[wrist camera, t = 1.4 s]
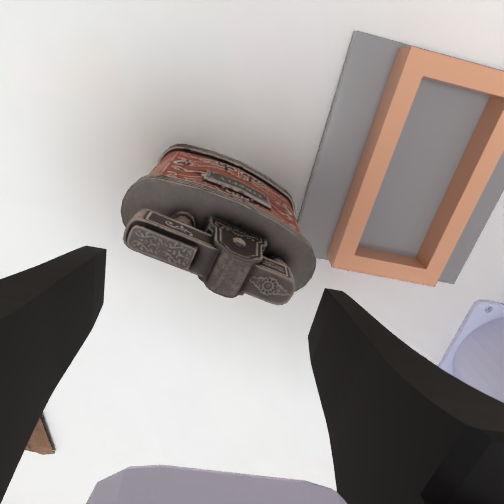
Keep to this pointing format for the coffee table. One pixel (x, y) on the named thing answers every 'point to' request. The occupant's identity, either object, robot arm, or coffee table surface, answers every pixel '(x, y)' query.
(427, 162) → the holder
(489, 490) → the robot arm
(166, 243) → the lighter
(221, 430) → the coffee table surface
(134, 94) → the coffee table surface
